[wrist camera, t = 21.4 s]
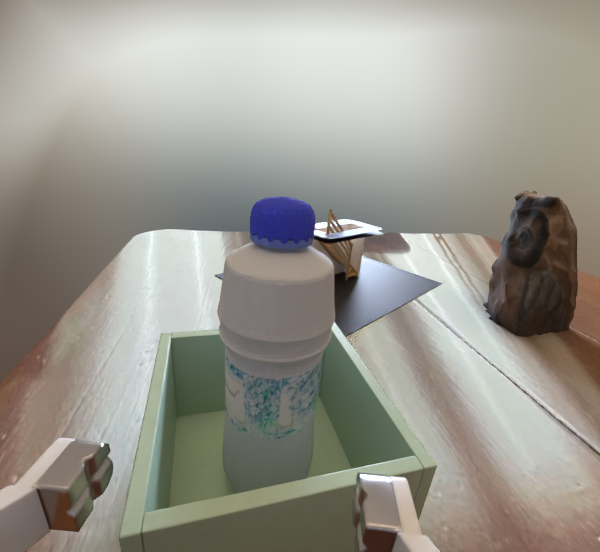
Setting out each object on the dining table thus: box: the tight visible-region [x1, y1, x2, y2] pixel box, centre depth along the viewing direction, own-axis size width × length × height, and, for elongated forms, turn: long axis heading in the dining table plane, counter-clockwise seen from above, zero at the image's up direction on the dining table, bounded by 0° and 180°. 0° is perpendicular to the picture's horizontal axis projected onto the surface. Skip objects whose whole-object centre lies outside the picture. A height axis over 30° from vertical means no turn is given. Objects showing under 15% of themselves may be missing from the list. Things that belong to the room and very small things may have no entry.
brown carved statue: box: [483, 191, 578, 336], centre depth 51 cm, size 13×13×20 cm
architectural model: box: [216, 210, 442, 337], centre depth 60 cm, size 35×28×14 cm
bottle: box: [218, 197, 335, 494], centre depth 20 cm, size 7×7×20 cm
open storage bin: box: [119, 322, 437, 552], centre depth 23 cm, size 15×15×9 cm
